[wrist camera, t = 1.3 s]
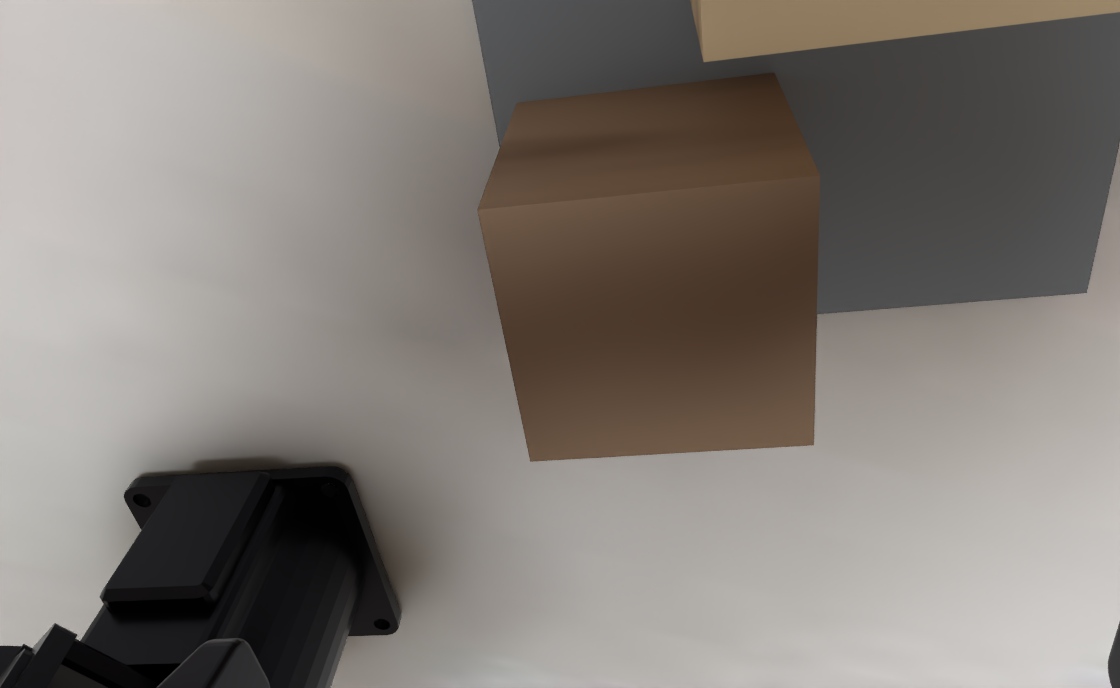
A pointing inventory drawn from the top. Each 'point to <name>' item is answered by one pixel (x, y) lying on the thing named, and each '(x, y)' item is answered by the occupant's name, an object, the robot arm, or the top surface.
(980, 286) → the mat
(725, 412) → the walnut cube
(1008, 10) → the oak base block
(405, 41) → the top surface
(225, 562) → the robot arm
